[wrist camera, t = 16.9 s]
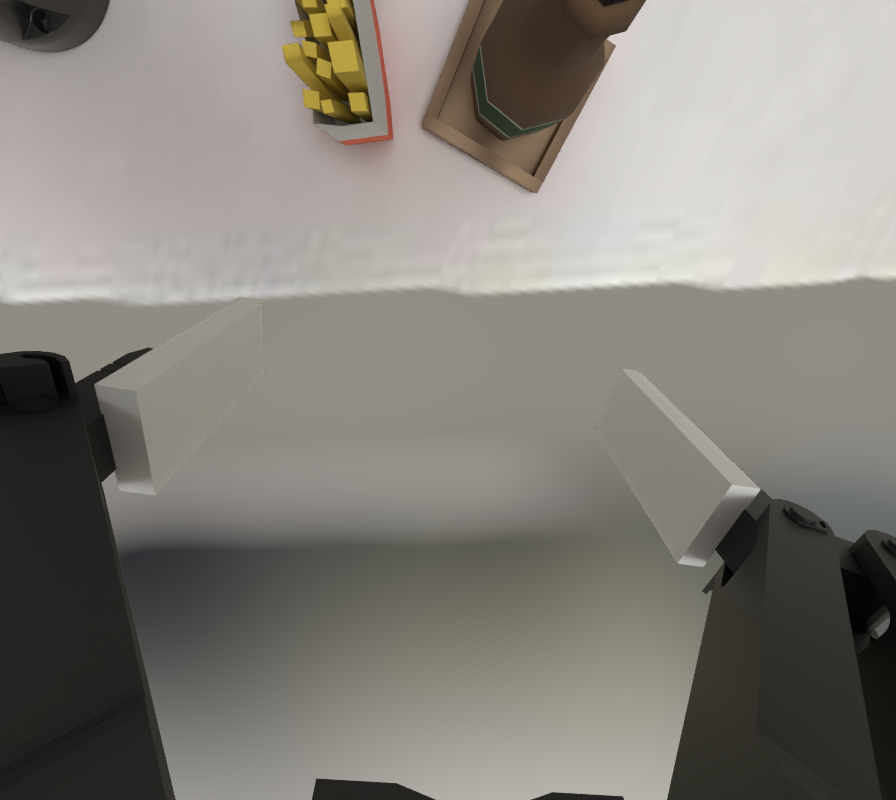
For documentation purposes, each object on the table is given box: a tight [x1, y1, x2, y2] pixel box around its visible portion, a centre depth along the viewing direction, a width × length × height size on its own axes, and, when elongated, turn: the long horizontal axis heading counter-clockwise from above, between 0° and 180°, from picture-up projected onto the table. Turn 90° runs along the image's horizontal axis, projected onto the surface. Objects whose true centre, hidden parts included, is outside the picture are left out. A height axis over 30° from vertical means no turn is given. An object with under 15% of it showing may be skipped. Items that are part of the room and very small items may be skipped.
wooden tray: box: [422, 0, 616, 193], centre depth 35 cm, size 12×12×2 cm
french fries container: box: [282, 0, 393, 145], centre depth 28 cm, size 5×11×18 cm, turn 6°
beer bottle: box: [470, 0, 646, 141], centre depth 25 cm, size 8×8×24 cm
